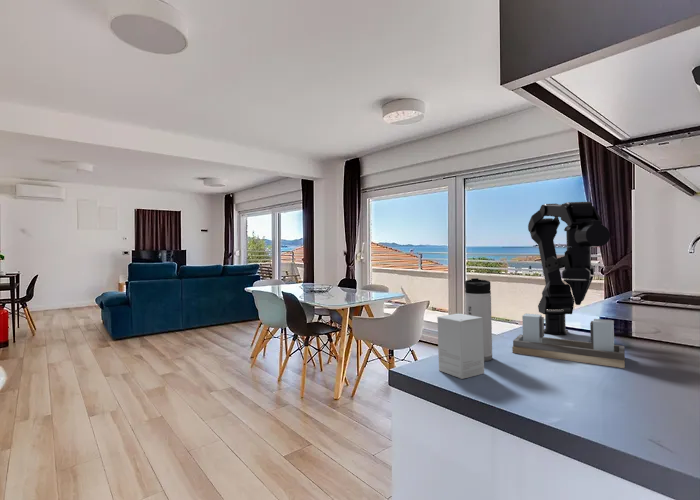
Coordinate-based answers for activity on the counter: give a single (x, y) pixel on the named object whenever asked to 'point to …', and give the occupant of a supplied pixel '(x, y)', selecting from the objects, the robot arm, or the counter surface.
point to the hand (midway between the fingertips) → (579, 302)
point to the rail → (570, 351)
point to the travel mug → (480, 309)
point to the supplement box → (461, 345)
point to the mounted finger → (533, 328)
